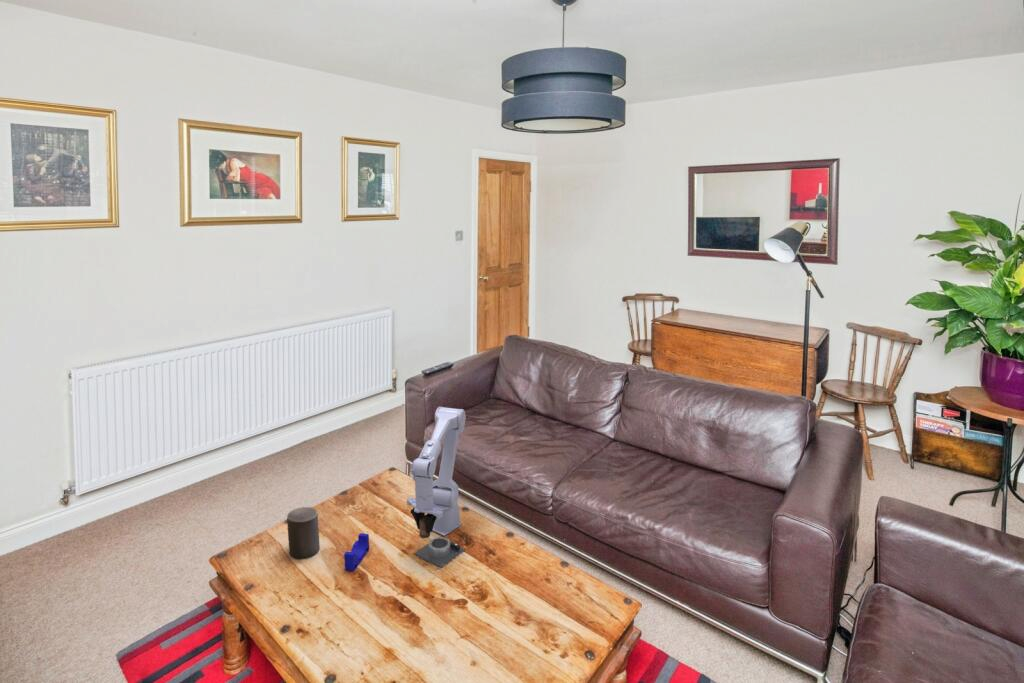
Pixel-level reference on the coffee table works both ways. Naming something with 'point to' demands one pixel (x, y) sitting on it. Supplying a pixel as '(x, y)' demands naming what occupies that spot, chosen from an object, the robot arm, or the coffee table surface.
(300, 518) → the pillar candle
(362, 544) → the cable clip
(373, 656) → the coffee table surface
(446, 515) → the robot arm
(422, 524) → the dowel
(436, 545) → the cup bracket
